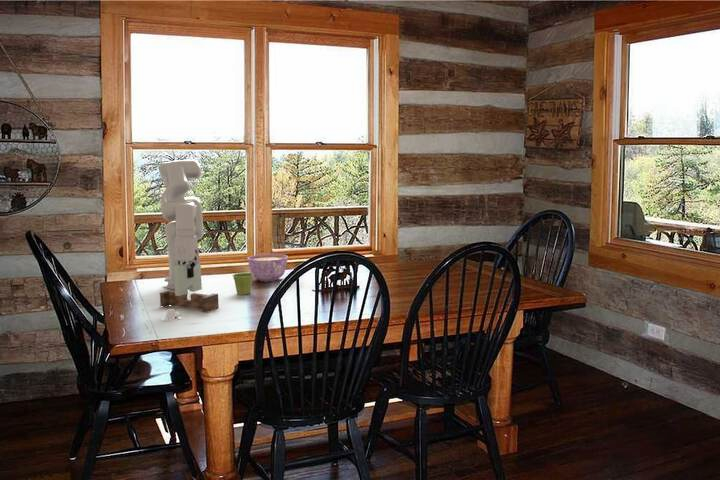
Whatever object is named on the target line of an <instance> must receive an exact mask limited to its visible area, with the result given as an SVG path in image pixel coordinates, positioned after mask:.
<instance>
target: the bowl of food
mask: <svg viewBox="0 0 720 480" xmlns="http://www.w3.org/2000/svg"><path fill="white" fill-rule="evenodd" d="M288 259H289V257H288V255H286V254H280V253H263V254H262V253H261V254H253V255H250V256H248V257H247V262H248V266H249V269H250V272H251V273H252V274H254V275H253V277H254V278H255V279H257V280H259V281H260V282H263V281H264V282H265V283H268V281H272V282H276V281H277V280H279V279H280V278H281V277H283V276H284V275H285V273H286V269H287V264H288ZM275 280H276V281H275ZM264 282H263V283H264Z"/></svg>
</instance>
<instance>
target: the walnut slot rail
mask: <svg viewBox="0 0 720 480" xmlns="http://www.w3.org/2000/svg"><path fill="white" fill-rule="evenodd" d="M189 298H190V299H189ZM189 298H188V294H184V295H181V296H175V289H167V290H166V291H161V292H159V302H160V304H159V305H160V307H161V306H163V307H162V308H167V307H175V306H177V307H178V308H183V307H184V308H183V309H193V310H201V312H202V313H208V312H211V311H214V310H217V309H219V308H220V307H219V306H220V305H219V293H211V294H203V293H197V292H196V293H195V292H192V293H191V294H190V296H189ZM169 305H171V306H169ZM166 306H167V307H166ZM177 307H176V308H177Z"/></svg>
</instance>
